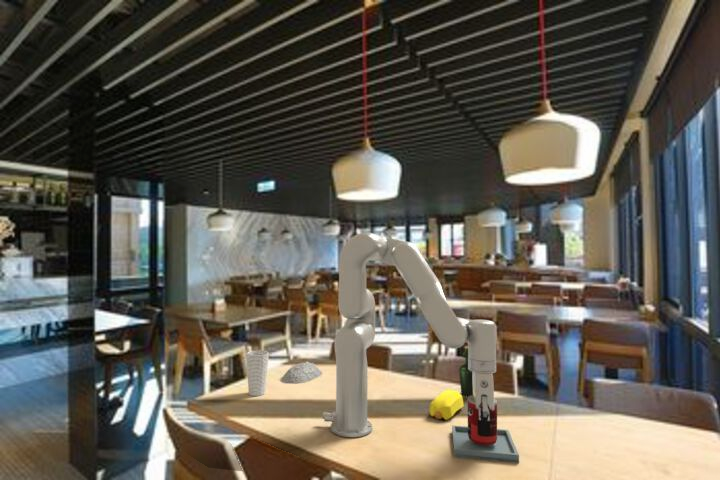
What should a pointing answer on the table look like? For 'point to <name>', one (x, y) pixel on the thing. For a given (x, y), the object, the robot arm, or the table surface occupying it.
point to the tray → (484, 446)
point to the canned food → (473, 424)
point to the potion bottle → (466, 377)
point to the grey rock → (301, 373)
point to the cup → (257, 371)
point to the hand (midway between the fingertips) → (482, 428)
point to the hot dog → (446, 404)
